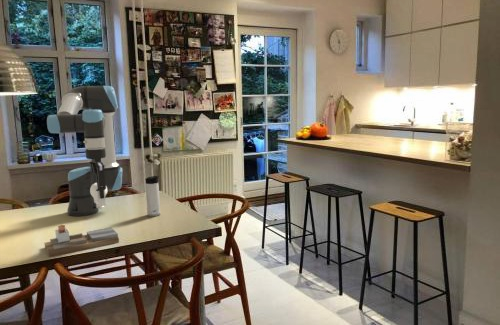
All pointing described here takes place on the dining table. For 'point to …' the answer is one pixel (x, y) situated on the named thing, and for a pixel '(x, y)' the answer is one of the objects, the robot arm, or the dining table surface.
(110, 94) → the robot arm
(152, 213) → the travel mug
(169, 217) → the dining table surface
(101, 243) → the press base
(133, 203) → the dining table surface
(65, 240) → the ram slider
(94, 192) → the light bulb
